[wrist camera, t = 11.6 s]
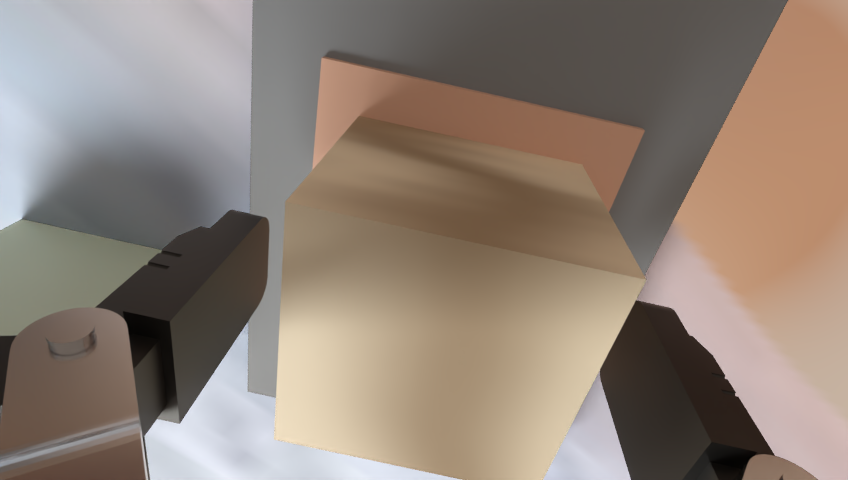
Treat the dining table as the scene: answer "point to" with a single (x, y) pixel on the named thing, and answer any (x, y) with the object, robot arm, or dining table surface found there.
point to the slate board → (499, 97)
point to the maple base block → (445, 303)
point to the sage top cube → (59, 271)
